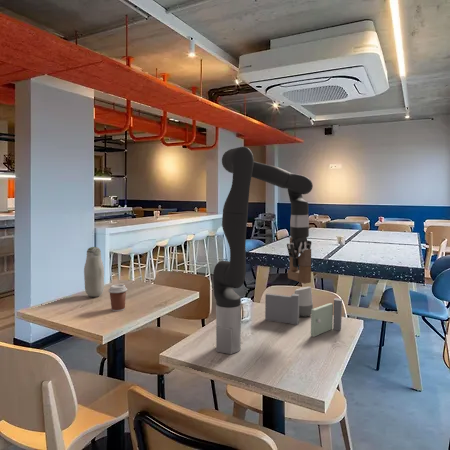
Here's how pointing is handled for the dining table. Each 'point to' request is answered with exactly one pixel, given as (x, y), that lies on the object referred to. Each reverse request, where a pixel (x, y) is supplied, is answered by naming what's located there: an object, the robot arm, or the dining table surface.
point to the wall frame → (294, 309)
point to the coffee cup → (117, 297)
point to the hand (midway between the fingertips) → (299, 266)
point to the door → (321, 319)
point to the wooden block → (301, 267)
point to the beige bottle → (94, 272)
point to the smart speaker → (305, 301)
